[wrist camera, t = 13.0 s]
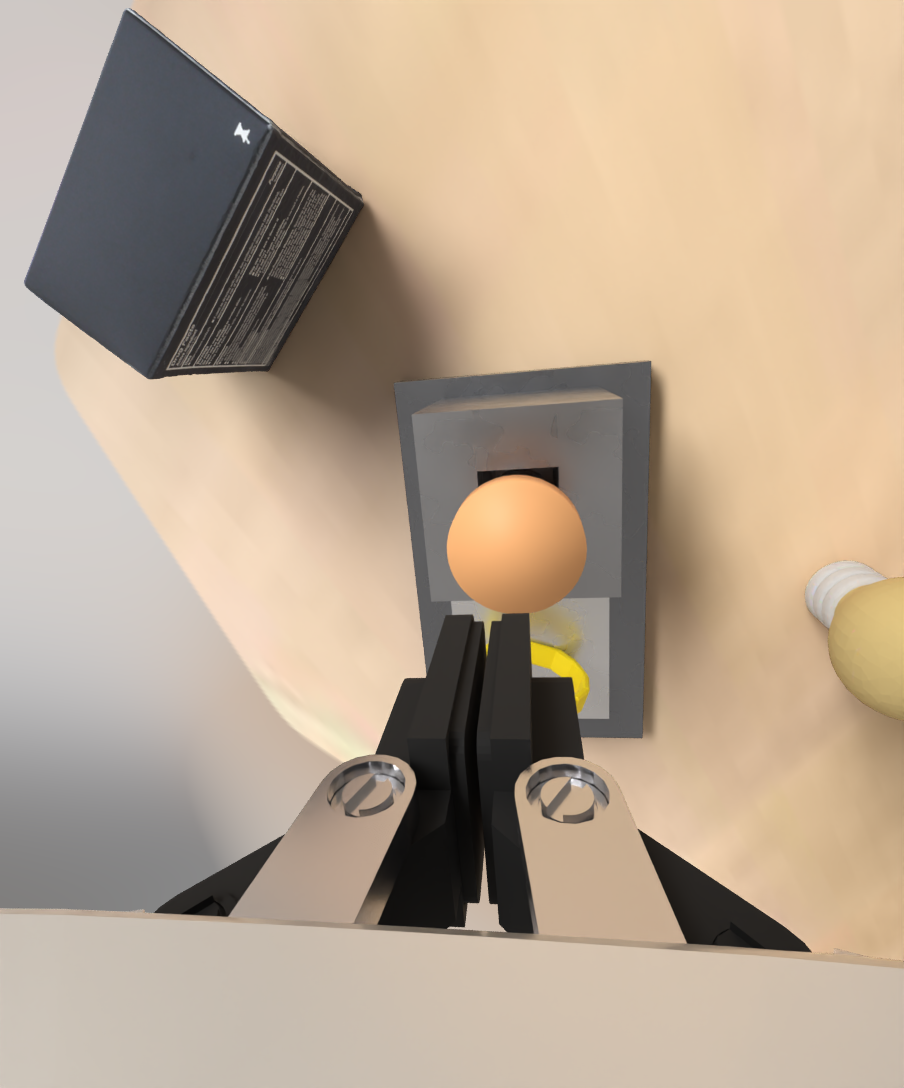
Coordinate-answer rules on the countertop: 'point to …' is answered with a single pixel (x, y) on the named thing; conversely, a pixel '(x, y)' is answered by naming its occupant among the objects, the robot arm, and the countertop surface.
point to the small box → (185, 218)
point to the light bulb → (863, 631)
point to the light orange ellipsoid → (517, 543)
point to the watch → (562, 669)
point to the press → (573, 467)
